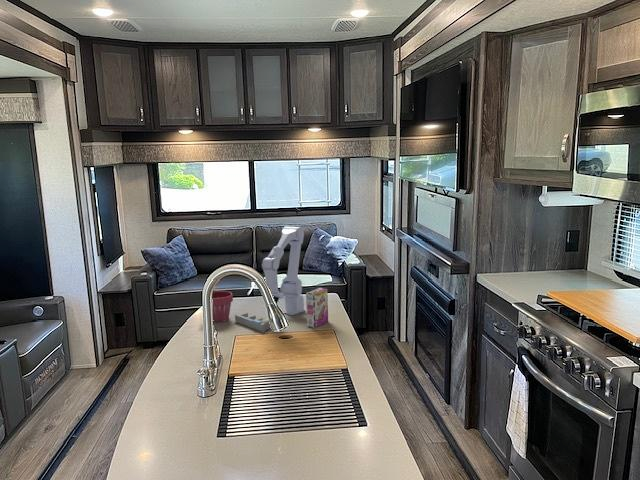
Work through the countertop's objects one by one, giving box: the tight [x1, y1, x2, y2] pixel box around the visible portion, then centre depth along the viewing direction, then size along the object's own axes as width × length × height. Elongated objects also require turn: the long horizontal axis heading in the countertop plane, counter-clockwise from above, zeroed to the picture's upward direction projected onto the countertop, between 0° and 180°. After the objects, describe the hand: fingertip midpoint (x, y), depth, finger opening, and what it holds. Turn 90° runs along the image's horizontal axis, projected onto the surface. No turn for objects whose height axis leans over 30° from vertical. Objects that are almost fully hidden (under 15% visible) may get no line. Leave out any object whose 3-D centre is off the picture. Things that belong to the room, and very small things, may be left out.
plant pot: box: [212, 290, 234, 323], centre depth 236 cm, size 14×14×13 cm
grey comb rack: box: [234, 312, 271, 333], centre depth 226 cm, size 6×22×4 cm, turn 44°
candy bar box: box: [305, 287, 329, 329], centre depth 222 cm, size 11×5×16 cm, turn 144°
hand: (273, 310), depth 226 cm, fingers closed
